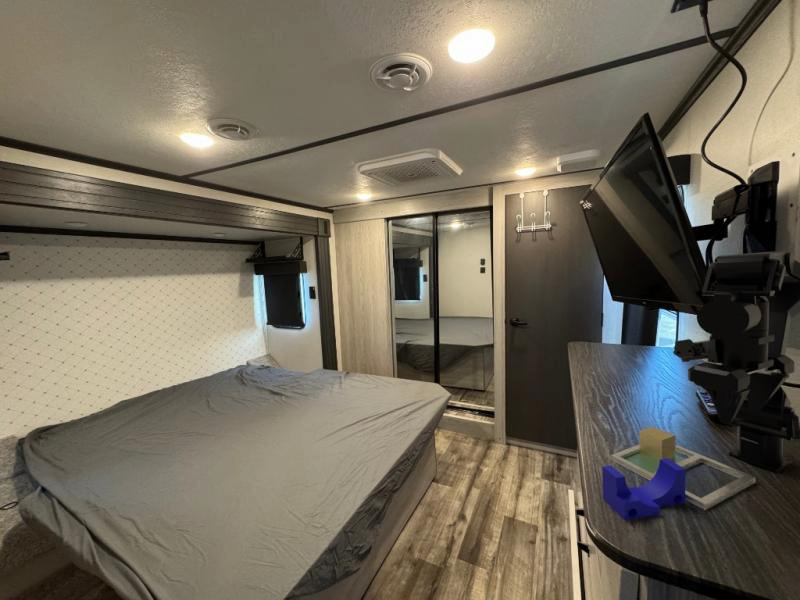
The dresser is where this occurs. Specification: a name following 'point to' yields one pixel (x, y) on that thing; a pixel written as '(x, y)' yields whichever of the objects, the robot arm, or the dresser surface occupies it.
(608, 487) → the cable clip
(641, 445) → the yellow rectangular block
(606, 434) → the dresser surface
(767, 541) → the dresser surface
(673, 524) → the dresser surface
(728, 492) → the grey divided frame
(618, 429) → the dresser surface
